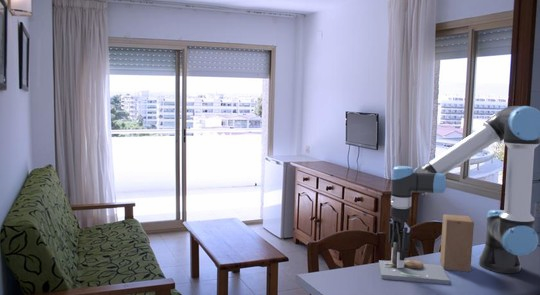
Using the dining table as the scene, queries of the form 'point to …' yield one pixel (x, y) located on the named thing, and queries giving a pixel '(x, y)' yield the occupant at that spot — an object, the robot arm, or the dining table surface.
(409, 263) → the dial
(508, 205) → the robot arm
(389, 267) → the board
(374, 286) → the dining table surface
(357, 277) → the dining table surface
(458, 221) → the wooden block
